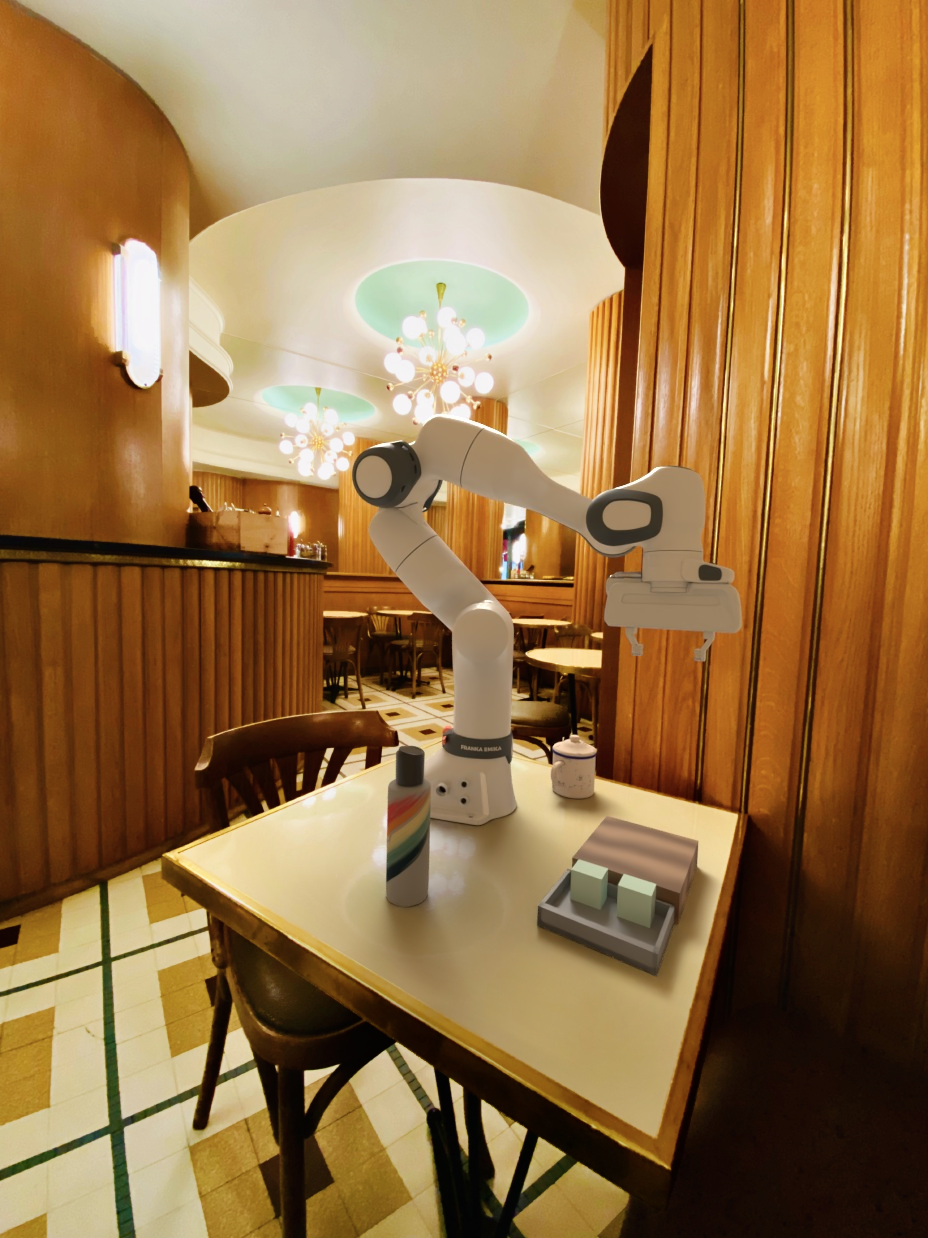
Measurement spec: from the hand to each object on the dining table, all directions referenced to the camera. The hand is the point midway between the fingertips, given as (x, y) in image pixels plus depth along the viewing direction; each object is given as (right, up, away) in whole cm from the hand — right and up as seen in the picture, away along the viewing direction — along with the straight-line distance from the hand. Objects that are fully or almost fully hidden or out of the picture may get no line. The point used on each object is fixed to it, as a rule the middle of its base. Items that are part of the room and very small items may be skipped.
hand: (667, 657), depth 79 cm
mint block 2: (-10, -29, -16) cm, 35 cm away
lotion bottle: (-40, -31, -13) cm, 52 cm away
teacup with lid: (-11, -30, +23) cm, 39 cm away
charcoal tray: (-15, -32, -18) cm, 39 cm away
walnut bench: (-7, -31, -7) cm, 33 cm away
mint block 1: (-15, -29, -13) cm, 35 cm away
